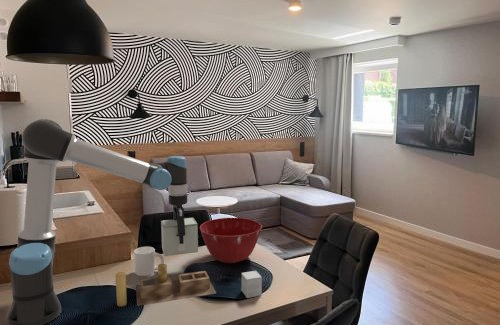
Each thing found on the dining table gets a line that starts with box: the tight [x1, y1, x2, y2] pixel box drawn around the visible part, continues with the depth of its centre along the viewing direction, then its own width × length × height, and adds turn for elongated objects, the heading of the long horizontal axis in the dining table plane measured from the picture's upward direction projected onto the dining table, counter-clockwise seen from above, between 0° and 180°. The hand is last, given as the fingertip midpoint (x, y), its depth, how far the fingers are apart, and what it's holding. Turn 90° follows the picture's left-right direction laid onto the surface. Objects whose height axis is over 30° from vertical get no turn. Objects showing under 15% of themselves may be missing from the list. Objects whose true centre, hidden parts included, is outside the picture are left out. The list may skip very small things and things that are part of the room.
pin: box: [115, 271, 128, 307], centre depth 128 cm, size 3×3×12 cm
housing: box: [160, 217, 199, 257], centre depth 154 cm, size 14×10×12 cm
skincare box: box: [241, 270, 263, 299], centre depth 139 cm, size 6×6×7 cm
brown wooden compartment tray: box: [135, 263, 217, 307], centre depth 139 cm, size 28×16×11 cm, turn 109°
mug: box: [133, 246, 165, 277], centre depth 155 cm, size 12×8×10 cm
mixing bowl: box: [199, 217, 263, 264], centre depth 172 cm, size 28×28×15 cm
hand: (179, 246), depth 155 cm, fingers closed on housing, 10 cm apart
